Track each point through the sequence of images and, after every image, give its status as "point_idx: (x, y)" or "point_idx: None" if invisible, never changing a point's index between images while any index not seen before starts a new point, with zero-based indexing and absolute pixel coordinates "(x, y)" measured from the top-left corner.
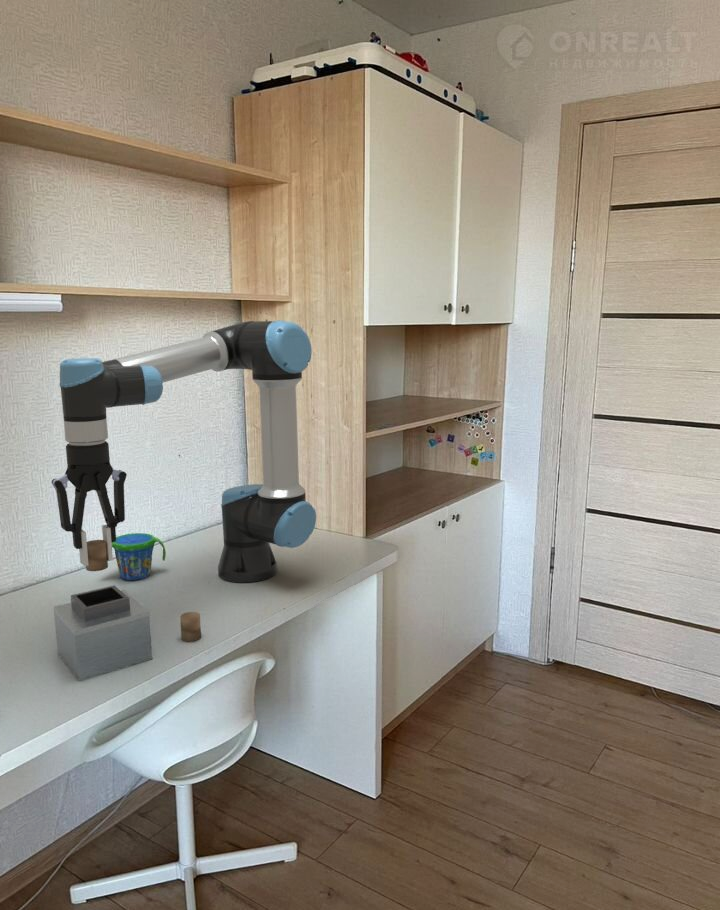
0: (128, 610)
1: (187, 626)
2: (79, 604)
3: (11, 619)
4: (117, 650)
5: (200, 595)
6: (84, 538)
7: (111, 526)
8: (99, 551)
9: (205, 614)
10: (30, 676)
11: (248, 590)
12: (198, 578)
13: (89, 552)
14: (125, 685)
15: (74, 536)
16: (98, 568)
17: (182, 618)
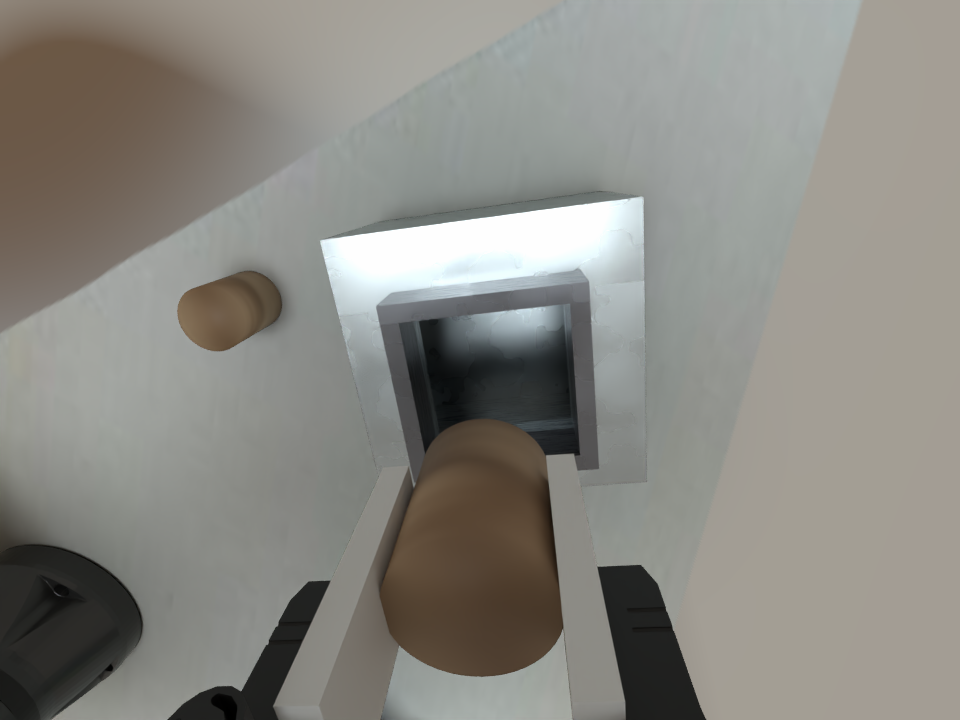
0: (397, 291)
1: (236, 286)
2: (592, 350)
3: None
4: (476, 211)
5: (200, 541)
6: (585, 633)
7: (244, 711)
8: (459, 498)
9: (198, 426)
10: (710, 300)
11: (69, 508)
12: (195, 633)
13: (535, 519)
14: (485, 81)
15: (691, 694)
16: (486, 425)
17: (236, 310)
